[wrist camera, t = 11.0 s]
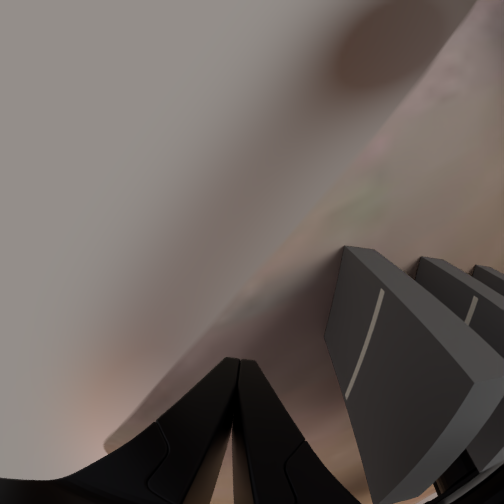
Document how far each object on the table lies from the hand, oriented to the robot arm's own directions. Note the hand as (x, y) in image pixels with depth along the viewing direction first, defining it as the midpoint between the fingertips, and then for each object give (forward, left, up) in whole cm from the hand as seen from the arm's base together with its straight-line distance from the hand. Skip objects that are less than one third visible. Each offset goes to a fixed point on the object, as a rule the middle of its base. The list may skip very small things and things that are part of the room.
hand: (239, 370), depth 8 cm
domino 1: (0, -5, -6) cm, 8 cm away
